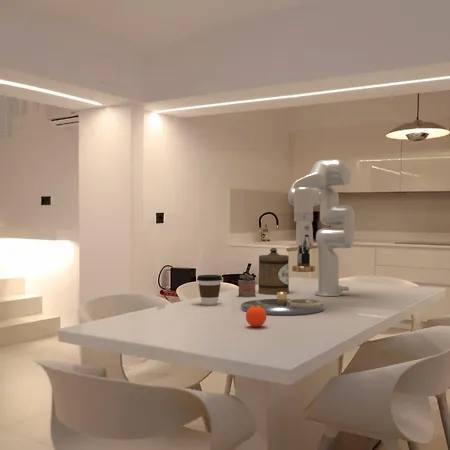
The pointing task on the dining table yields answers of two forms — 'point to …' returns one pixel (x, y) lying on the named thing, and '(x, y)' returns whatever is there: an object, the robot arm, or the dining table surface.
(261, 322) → the clementine
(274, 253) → the wooden container
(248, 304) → the carrier plate
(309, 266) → the gear
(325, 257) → the robot arm
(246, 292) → the lighter
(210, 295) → the coffee cup
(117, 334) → the dining table surface
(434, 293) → the dining table surface
